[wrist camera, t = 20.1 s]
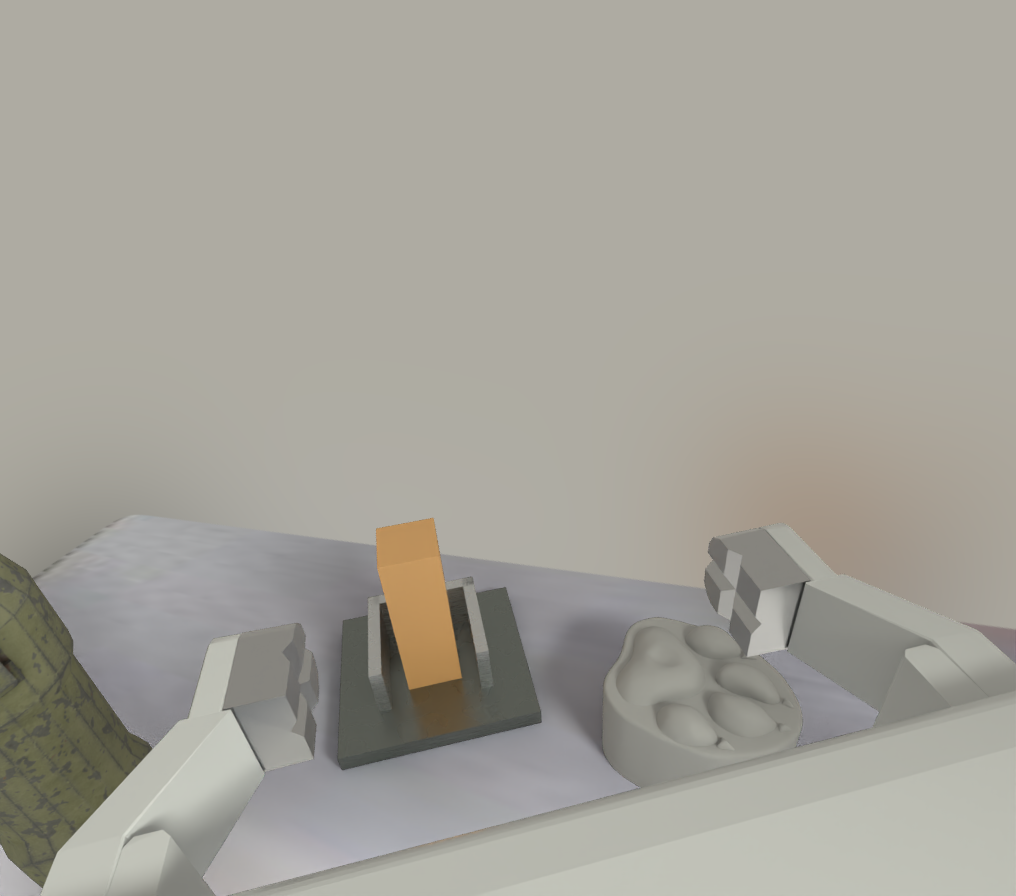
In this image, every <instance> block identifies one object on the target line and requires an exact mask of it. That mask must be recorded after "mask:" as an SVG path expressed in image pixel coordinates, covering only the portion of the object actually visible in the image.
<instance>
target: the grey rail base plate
mask: <svg viewBox="0 0 1016 896" xmlns="http://www.w3.org/2000/svg"><path fill="white" fill-rule="evenodd" d="M445 584H446V590H447V595H448V601H449V606H450V612H451V617H452V623H453V628H454V634H455V639H456V645H457V651H458V657H459V663H460V669H461V676H462V678H460V679H455V680H451V681H446V682H442V683H437V684H433V685H429V686H424V687H420V688H415V689H411V690H409V687H408V683H407V680H406V676H405V672H404V668H403V664H402V660H401V657H400V653H399V649H398V645H397V641H396V638H395V634H394V630H393V626H392V622H391V619H390V615H389V611H388V607H387V603H386V599H385V596H384V594H383V595H378V596H373V597H368V616H363V617H359V618H354V619H349V620H344V621H343V635H342V660H341V685H340V710H339V736H338V762H339V764H340V766H341V769H342V770H344V769H348V768H353V767H357V766H361V765H365V764H369V763H374V762H378V761H382V760H386V759H390V758H394V757H399V756H403V755H407V754H411V753H415V752H420V751H424V750H428V749H432V748H436V747H441V746H445V745H449V744H453V743H457V742H461V741H466V740H470V739H474V738H478V737H482V736H487V735H491V734H495V733H499V732H503V731H508V730H512V729H516V728H520V727H524V726H528V725H533V724H537V723H541V711H540V707H539V703H538V700H537V696H536V693H535V689H534V686H533V682H532V679H531V675H530V671H529V668H528V664H527V661H526V657H525V654H524V650H523V647H522V643H521V639H520V636H519V632H518V629H517V625H516V622H515V618H514V615H513V611H512V607H511V604H510V600H509V597H508V593H507V590H506V587H504V588H499V589H494V590H490V591H485V592H480V593H476V591H475V587H474V582H473V577H467V578H463V579H458V580H453V581H448V582H445Z"/></svg>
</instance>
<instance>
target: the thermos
mask: <svg viewBox="0 0 1016 896" xmlns="http://www.w3.org/2000/svg"><path fill="white" fill-rule="evenodd" d="M151 750H152V748H151V746H150V745H149V744H148V743H147V742H146V741H144V740H142V739H141V738H139V737H137V736H135V735H133V734H131V733H129V732H128V731H127V729H126V728H125V726H124V725H123V724H122V722H121V721H120V719H119V718H118V717H117V715H116V714H115V712H114V711H113V709H112V708H111V707H110V705H109V704H108V702H107V701H106V700H105V698H104V697H103V695H102V694H101V693H100V691H99V690H98V688H97V687H96V686H95V684H94V683H93V681H92V680H91V679H90V677H89V676H88V674H87V673H86V671H85V670H84V669H83V667H82V666H81V664H80V663H79V662H78V660H77V659H76V657H75V656H74V655H73V639H72V637H71V635H70V633H69V631H68V629H67V628H66V626H65V625H64V624H63V622H62V621H61V619H60V618H59V616H58V615H57V613H56V612H55V611H54V609H53V608H52V606H51V605H50V603H49V602H48V601H47V599H46V598H45V596H44V595H43V593H42V592H41V590H40V589H39V588H38V586H37V585H36V583H35V582H34V580H33V579H32V578H31V576H30V575H29V573H28V572H27V570H26V569H24V568H23V567H21V566H19V565H18V564H16V563H14V562H13V561H11V560H10V559H8V558H6V557H5V556H3V555H2V554H0V844H1V845H2V847H3V849H4V851H5V853H6V855H7V857H8V858H9V859H10V860H11V861H12V862H13V863H14V864H15V865H16V866H18V867H19V868H20V869H21V870H22V871H23V872H24V873H25V874H26V875H28V876H29V877H30V878H31V879H32V880H33V881H34V882H36V883H37V884H38V885H39V886H40V887H42V888H43V887H44V884H45V882H46V879H47V877H48V874H49V872H50V869H51V867H52V864H53V862H54V859H55V857H56V855H57V852H58V851H59V850H60V849H61V848H62V847H63V846H64V845H65V843H66V842H67V841H68V840H69V839H70V838H71V837H72V836H73V835H74V834H75V833H76V832H77V830H78V829H79V828H80V827H81V826H82V825H83V824H84V823H85V822H86V821H87V820H88V819H89V817H90V816H91V815H92V814H93V813H94V812H95V811H96V810H97V809H98V808H99V807H100V806H101V804H102V803H103V802H104V801H105V800H106V799H107V798H108V797H109V796H110V795H111V794H112V793H113V791H114V790H115V789H116V788H117V787H118V786H119V785H120V784H121V783H122V782H123V781H124V780H125V778H126V777H127V776H128V775H129V774H130V773H131V772H132V771H133V770H134V769H135V768H136V767H137V765H138V764H139V763H140V762H141V761H142V760H143V759H144V758H145V757H146V756H147V755H148V754H149V752H150V751H151Z"/></svg>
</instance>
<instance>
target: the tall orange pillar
mask: <svg viewBox="0 0 1016 896" xmlns="http://www.w3.org/2000/svg"><path fill="white" fill-rule="evenodd" d="M376 541H377V569H378V573H379V577H380V580H381V584H382V588H383V592H384V596H385V599H386V603H387V607H388V611H389V615H390V619H391V622H392V626H393V630H394V634H395V638H396V641H397V645H398V649H399V653H400V657H401V660H402V664H403V668H404V672H405V676H406V680H407V683H408V687H409V690H411V689H415V688H420V687H424V686H429V685H433V684H437V683H442V682H446V681H451V680H455V679H460V678H462V676H461V669H460V663H459V657H458V651H457V645H456V639H455V634H454V628H453V623H452V617H451V612H450V606H449V601H448V595H447V590H446V584H445V579H444V573H443V568H442V562H441V557H440V551H439V546H438V540H437V535H436V529H435V524H434V519H433V518H430V519H425V520H419V521H414V522H409V523H403V524H398V525H393V526H388V527H382V528H377V529H376Z"/></svg>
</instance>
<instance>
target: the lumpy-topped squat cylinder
mask: <svg viewBox="0 0 1016 896" xmlns="http://www.w3.org/2000/svg"><path fill="white" fill-rule="evenodd" d="M802 724H803V717H802V712H801V707H800V705H799V702H798V700H797V698H796V696H795V694H794V693H793V691H792V689H791V688H790V686H789V685H788V683H787V682H786V681H785V679H784V678H783V677H782V676H781V674H780V673H779V672H778V671H777V670H776V669H775V668H774V667H772V666H771V665H770V664H769V663H768V662H767V661H766V660H764V659H763V658H762V657H761V656H760V655H755V656H751V657H746V655H745V654H744V652H743V651H742V650H741V648H740V647H739V645H738V644H737V642H736V641H735V640H734V639H733V638H732V637H731V636H730V635H729V634H728V633H727V632H725V631H724V630H722V629H720V628H718V627H715V626H709V625H703V626H695V625H691V624H687V623H684V622H680V621H676V620H672V619H667V618H660V617H655V618H649V619H645V620H642V621H639V622H637V623H635V624H634V625H632V626H631V627H630V628H629V630H628V631H627V633H626V636H625V639H624V643H623V647H622V651H621V654H620V656H619V658H618V660H617V661H616V663H615V664H614V665H613V666H612V668H611V669H610V670H609V672H608V673H607V675H606V677H605V680H604V684H603V723H602V747H603V751H604V754H605V756H606V758H607V760H608V761H609V763H610V764H611V766H612V767H613V768H614V769H615V770H616V771H617V772H618V773H619V774H620V775H622V776H623V777H624V778H626V779H627V780H629V781H630V782H632V783H634V784H635V785H637V786H639V787H641V788H643V787H646V786H650V785H654V784H658V783H662V782H666V781H669V780H673V779H677V778H681V777H685V776H689V775H692V774H696V773H700V772H704V771H708V770H712V769H715V768H719V767H723V766H727V765H731V764H735V763H738V762H742V761H746V760H750V759H754V758H758V757H761V756H765V755H769V754H773V753H777V752H781V751H784V750H788V749H792V748H796V746H797V742H798V739H799V736H800V733H801V730H802Z"/></svg>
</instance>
